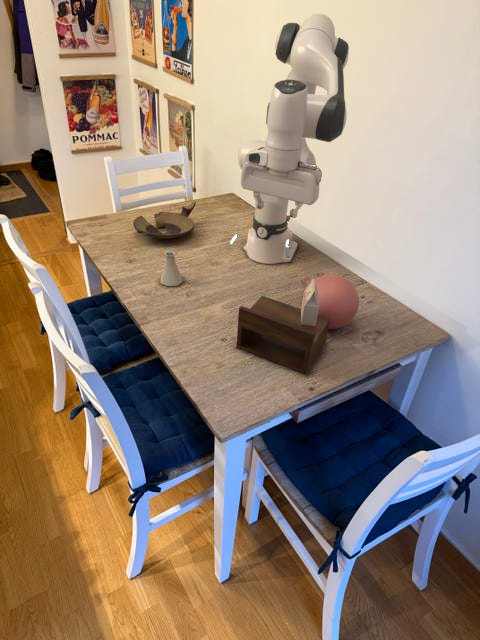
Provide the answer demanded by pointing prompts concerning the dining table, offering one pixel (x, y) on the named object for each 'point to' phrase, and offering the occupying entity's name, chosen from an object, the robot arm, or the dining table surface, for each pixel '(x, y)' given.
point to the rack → (280, 334)
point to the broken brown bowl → (167, 223)
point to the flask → (171, 271)
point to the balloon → (335, 298)
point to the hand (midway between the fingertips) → (276, 212)
